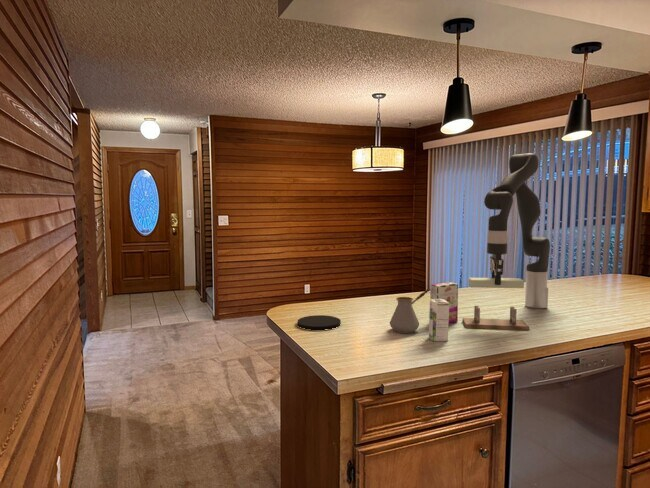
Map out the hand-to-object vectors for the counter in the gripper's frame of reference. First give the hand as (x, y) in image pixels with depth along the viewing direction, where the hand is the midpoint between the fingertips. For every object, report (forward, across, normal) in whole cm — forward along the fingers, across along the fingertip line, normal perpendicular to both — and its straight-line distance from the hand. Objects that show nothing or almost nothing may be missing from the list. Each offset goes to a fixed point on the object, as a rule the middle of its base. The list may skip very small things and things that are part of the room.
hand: (495, 283), depth 184 cm
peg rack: (+17, 0, 0) cm, 17 cm away
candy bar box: (+18, +2, +20) cm, 27 cm away
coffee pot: (+18, -9, +33) cm, 39 cm away
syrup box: (+18, -22, +24) cm, 37 cm away
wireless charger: (+18, -9, +71) cm, 74 cm away
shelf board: (+1, 0, 0) cm, 1 cm away
